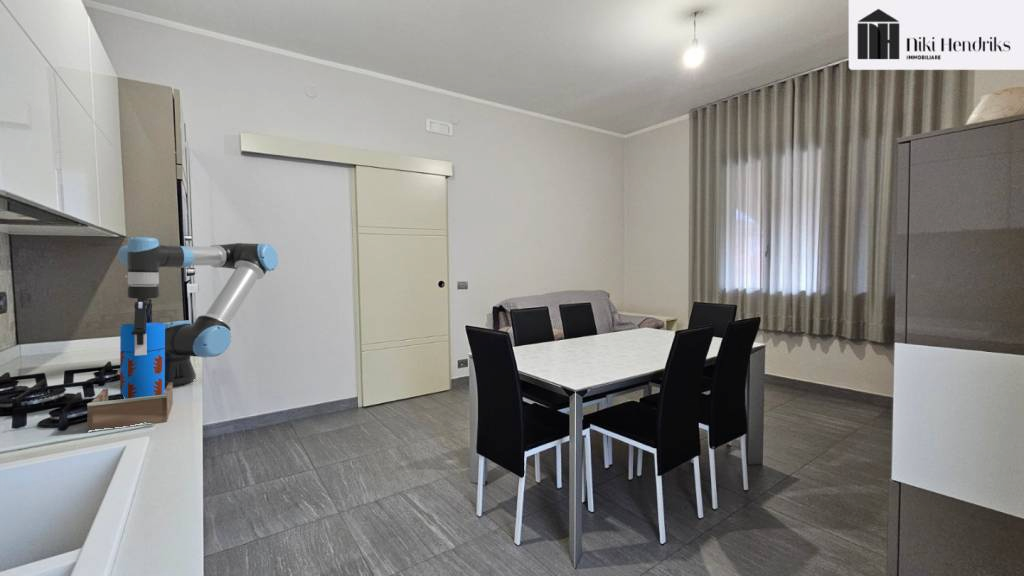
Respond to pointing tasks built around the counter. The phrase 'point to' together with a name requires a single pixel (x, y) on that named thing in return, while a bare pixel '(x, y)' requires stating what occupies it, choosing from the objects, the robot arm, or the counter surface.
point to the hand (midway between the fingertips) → (143, 351)
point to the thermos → (142, 362)
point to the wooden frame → (128, 410)
